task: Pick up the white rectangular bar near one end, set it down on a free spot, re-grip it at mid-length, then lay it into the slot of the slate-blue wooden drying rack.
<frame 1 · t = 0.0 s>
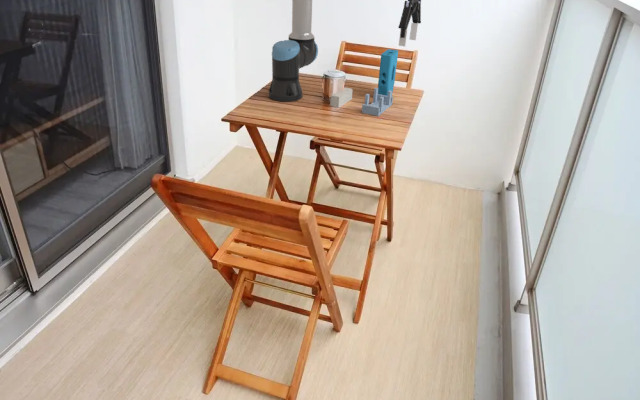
hand: (407, 42, 195), 28 cm above the table, fingers open, 13 cm apart
block: (384, 96, 223), on the table
rack: (377, 108, 208), on the table
white rectangular bar: (341, 102, 214), on the table
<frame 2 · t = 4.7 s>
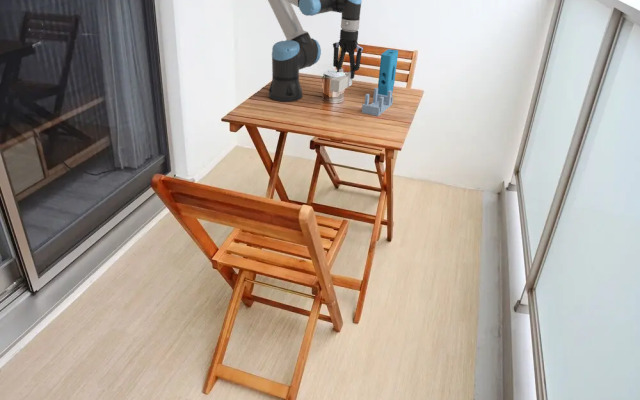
hand: (344, 84, 213), 7 cm above the table, fingers closed on white rectangular bar, 4 cm apart
white rectangular bar: (341, 87, 210), point 6 cm above the table, touching gripper
everything else where it was.
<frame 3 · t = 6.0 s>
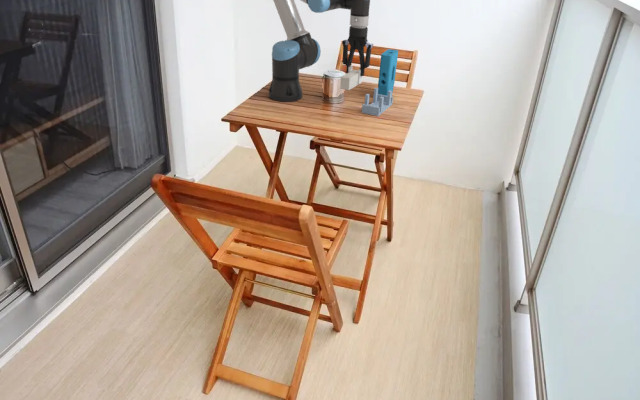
hand: (354, 82, 210), 9 cm above the table, fingers closed on white rectangular bar, 4 cm apart
white rectangular bar: (351, 85, 208), point 8 cm above the table, touching gripper
everything else where it was.
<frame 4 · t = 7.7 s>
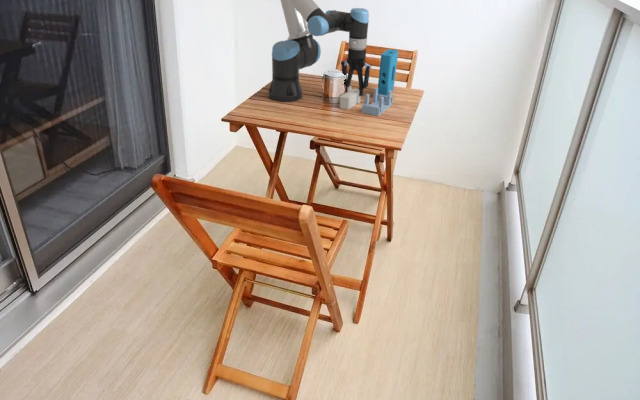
hand: (353, 101, 214), 0 cm above the table, fingers closed on white rectangular bar, 4 cm apart
white rectangular bar: (350, 104, 212), on the table, touching gripper
everything else where it was.
when the fingers open (0 cm above the table, at t = 7.8 s): white rectangular bar stays where it is, on the table.
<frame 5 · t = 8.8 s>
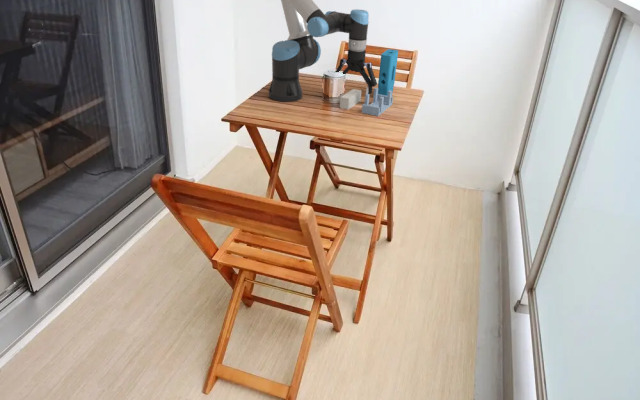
hand: (353, 98, 214), 2 cm above the table, fingers open, 13 cm apart
white rectangular bar: (350, 104, 212), on the table
everything else where it was.
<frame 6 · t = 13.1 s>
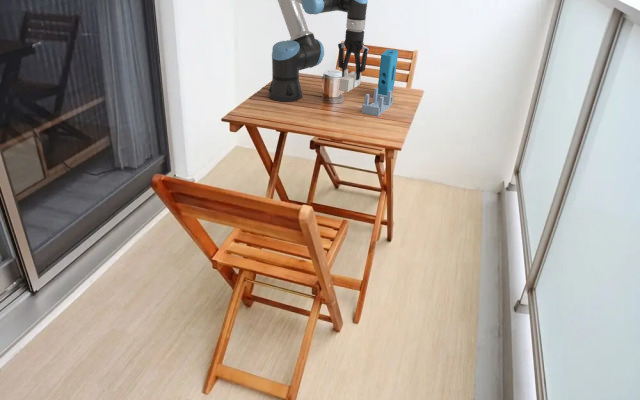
hand: (349, 85, 208), 8 cm above the table, fingers closed on white rectangular bar, 4 cm apart
white rectangular bar: (349, 87, 208), point 7 cm above the table, touching gripper
everything else where it was.
when the fingers open (1 cm above the table, at t = 17.0 s): white rectangular bar stays where it is, resting on rack.
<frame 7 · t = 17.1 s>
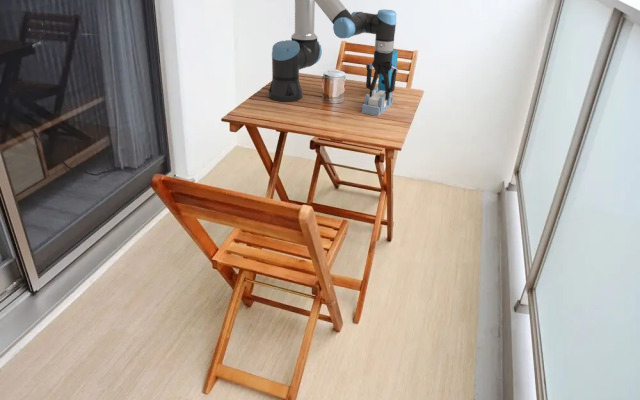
hand: (378, 105, 208), 1 cm above the table, fingers open, 4 cm apart
white rectangular bar: (377, 106, 208), point 1 cm above the table, touching gripper, rack
everything else where it was.
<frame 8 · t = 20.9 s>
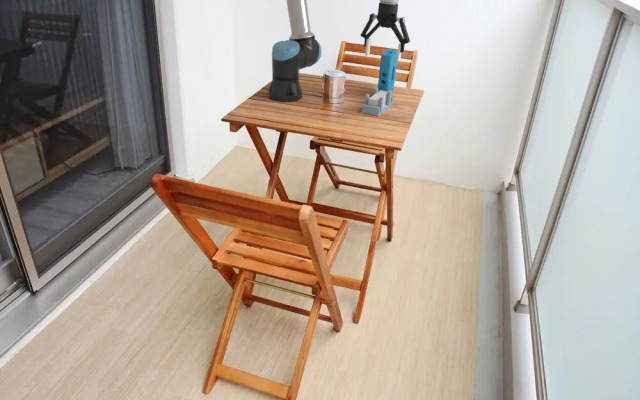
hand: (382, 57, 197), 22 cm above the table, fingers open, 13 cm apart
white rectangular bar: (377, 106, 208), point 1 cm above the table, touching rack
everything else where it was.
at the end: white rectangular bar 0.1 cm off-centre on the rack, point 1.0 cm above the rack's base; white rectangular bar tilted 0°; the gripper is holding nothing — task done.
